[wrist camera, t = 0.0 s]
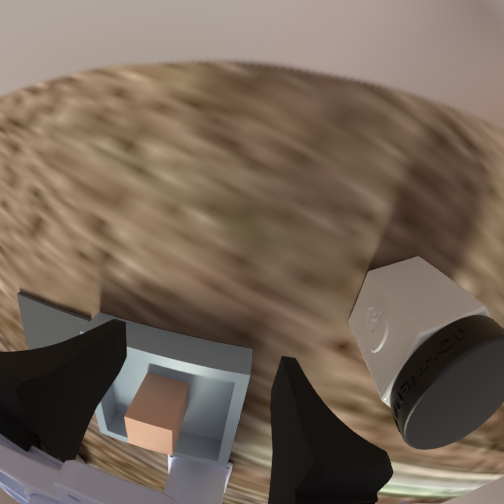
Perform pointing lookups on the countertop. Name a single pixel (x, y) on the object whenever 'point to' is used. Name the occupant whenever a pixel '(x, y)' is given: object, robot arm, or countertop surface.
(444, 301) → the jar
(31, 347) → the mat
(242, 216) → the countertop surface
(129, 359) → the bin
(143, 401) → the block
